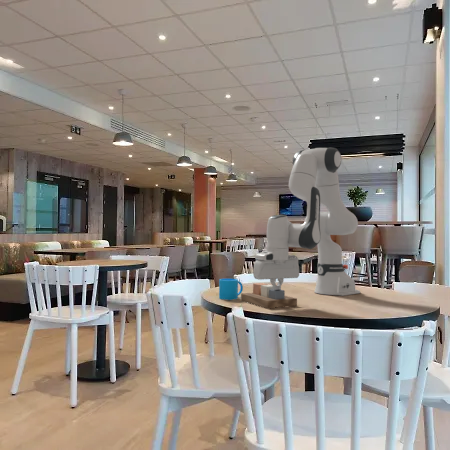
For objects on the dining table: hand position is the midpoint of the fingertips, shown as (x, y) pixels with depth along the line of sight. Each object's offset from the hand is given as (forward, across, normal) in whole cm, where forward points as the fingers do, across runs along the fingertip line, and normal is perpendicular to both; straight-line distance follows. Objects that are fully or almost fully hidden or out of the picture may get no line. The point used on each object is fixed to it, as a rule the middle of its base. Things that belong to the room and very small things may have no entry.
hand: (276, 290), depth 171 cm
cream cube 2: (+3, 0, -6) cm, 7 cm away
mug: (+6, +7, -24) cm, 26 cm away
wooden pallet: (+6, 0, -6) cm, 9 cm away
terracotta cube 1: (+3, 0, -12) cm, 13 cm away
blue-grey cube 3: (+4, 0, 0) cm, 5 cm away
